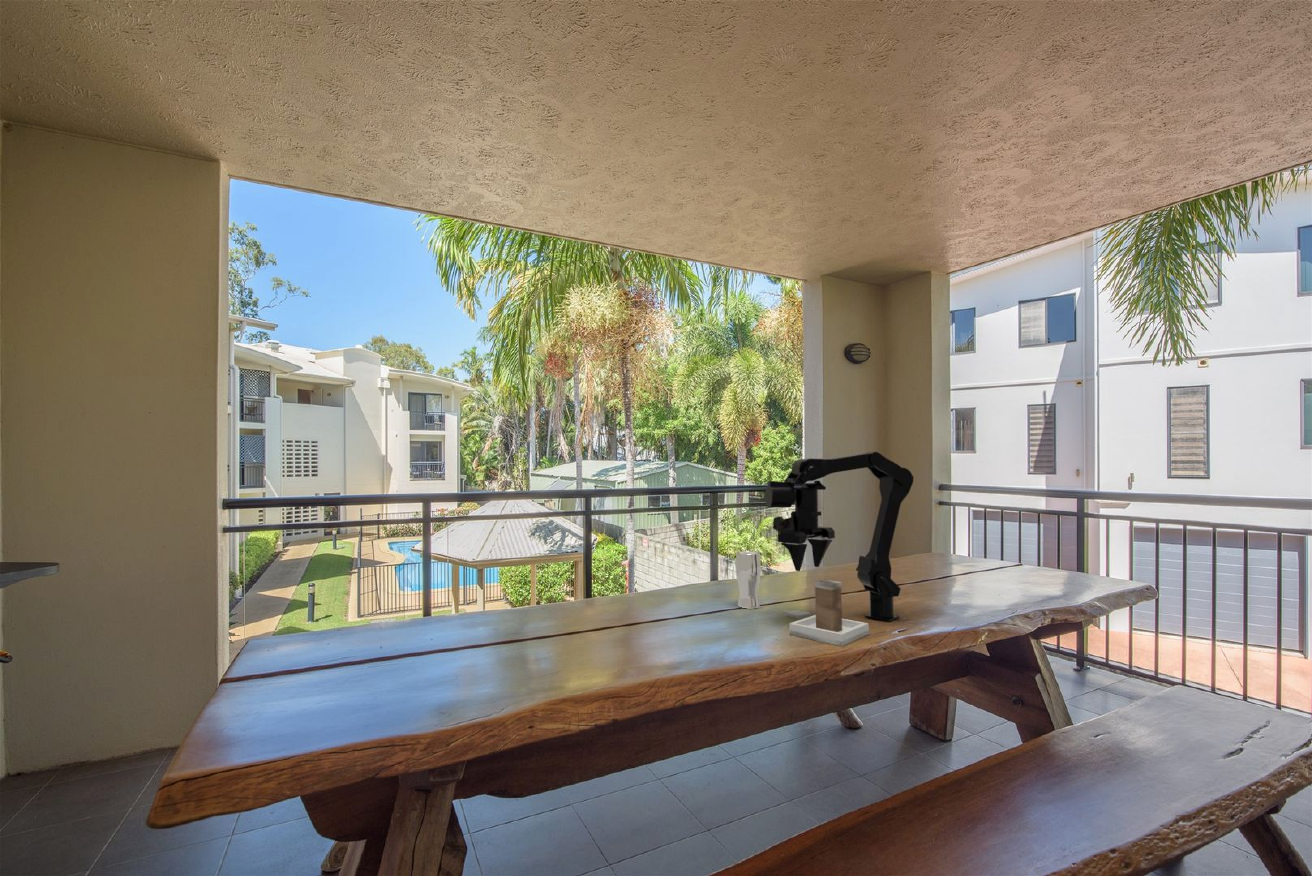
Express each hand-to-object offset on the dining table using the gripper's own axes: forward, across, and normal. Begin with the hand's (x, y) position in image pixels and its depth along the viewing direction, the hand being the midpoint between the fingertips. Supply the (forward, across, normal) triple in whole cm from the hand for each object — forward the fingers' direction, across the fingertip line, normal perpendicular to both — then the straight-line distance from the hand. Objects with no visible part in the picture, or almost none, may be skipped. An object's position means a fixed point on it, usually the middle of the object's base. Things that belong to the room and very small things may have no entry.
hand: (807, 568), depth 146 cm
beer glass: (+13, -2, -20) cm, 24 cm away
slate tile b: (+13, -3, -5) cm, 15 cm away
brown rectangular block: (+12, +8, +10) cm, 18 cm away
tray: (+13, +8, +10) cm, 18 cm away
